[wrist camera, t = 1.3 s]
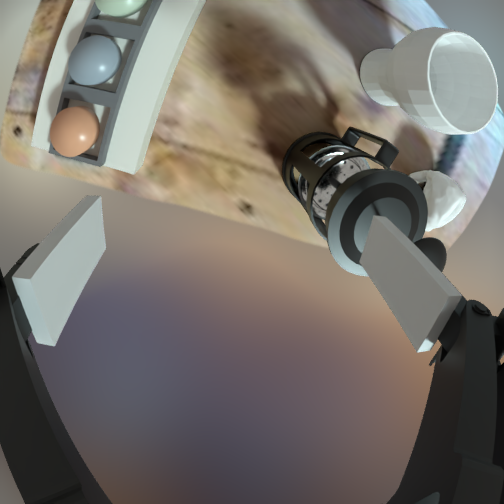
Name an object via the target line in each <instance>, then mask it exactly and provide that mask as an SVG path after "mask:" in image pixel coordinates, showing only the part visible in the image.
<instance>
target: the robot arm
mask: <svg viewBox="0 0 504 504" xmlns="http://www.w3.org/2000/svg"><path fill="white" fill-rule="evenodd" d="M105 249H106V243H105V235H104V226H103V215H102V203H101V196H86V197H85V198H84V199H83V200H82V201H80V202H79V203H78V204H77V205H76V206H75V207H74V208H73V209H72V210H71V211H70V212H69V213H68V214H67V216H65V217H64V219H62V221H61V222H60V223H59V224H58V225H57V226H56V227H55V228H54V229H53V230H52V231H51V232H50V233H49V234H48V235H47V236H46V238H45V239H44V240H43V241H42V242H41V243H38V244H36V245H34V246H32V247H31V248H29V249H28V250H27V251H26V252H25V253H24V255H23V256H22V257H21V258H20V259H19V260H18V261H17V262H16V264H15V265H14V266H13V267H12V268H11V270H10V271H9V272H8V273H7V274H6V276H5V277H4V278H3V276H2V272H1V269H0V444H1V447H2V449H3V452H4V455H5V458H6V461H7V463H8V466H9V468H10V471H11V473H12V475H13V478H14V480H15V482H16V485H17V487H18V489H19V491H20V493H21V495H22V498H23V500H24V502H25V504H112V503H111V501H110V500H109V498H108V497H107V495H106V494H105V493H104V491H103V490H102V488H101V487H100V486H99V484H98V482H97V481H96V479H95V478H94V476H93V475H92V473H91V472H90V470H89V469H88V467H87V466H86V464H85V462H84V460H83V459H82V457H81V455H80V454H79V452H78V450H77V448H76V447H75V445H74V443H73V441H72V440H71V438H70V436H69V434H68V432H67V430H66V428H65V426H64V424H63V422H62V420H61V418H60V416H59V414H58V412H57V410H56V408H55V406H54V403H53V401H52V399H51V397H50V394H49V392H48V390H47V387H46V385H45V383H44V380H43V378H42V375H41V373H40V370H39V367H38V365H37V362H36V359H35V356H34V354H33V351H32V348H31V345H30V343H29V341H28V336H29V335H30V333H31V331H32V332H33V334H34V336H35V339H36V341H37V343H41V344H46V345H51V346H55V345H56V342H57V340H58V338H59V336H60V334H61V331H62V329H63V327H64V325H65V323H66V321H67V319H68V317H69V315H70V313H71V311H72V309H73V307H74V305H75V303H76V301H77V299H78V297H79V296H80V294H81V292H82V290H83V288H84V286H85V284H86V282H87V281H88V279H89V277H90V275H91V273H92V272H93V270H94V268H95V266H96V265H97V263H98V261H99V259H100V258H101V256H102V254H103V253H104V251H105ZM359 262H360V264H361V265H362V267H363V268H364V270H365V271H366V273H367V274H368V276H369V277H370V279H371V280H372V282H373V283H374V285H375V286H376V288H377V289H378V291H379V292H380V294H381V295H382V296H383V298H384V300H385V301H386V303H387V304H388V306H389V308H390V309H391V311H392V312H393V314H394V315H395V317H396V319H397V320H398V322H399V323H400V325H401V327H402V328H403V330H404V332H405V333H406V335H407V337H408V338H409V340H410V341H411V343H412V345H413V346H414V348H415V350H416V352H422V351H429V350H431V349H432V347H433V346H434V344H435V343H436V341H437V339H438V340H439V341H440V343H441V344H442V345H441V347H440V348H439V350H438V351H437V353H436V354H435V356H434V357H433V359H432V360H431V362H430V364H429V365H430V366H431V365H432V363H434V362H435V367H434V373H433V378H432V382H431V387H430V392H429V395H428V400H427V404H426V408H425V411H424V415H423V419H422V422H421V426H420V429H419V433H418V436H417V439H416V442H415V445H414V448H413V451H412V454H411V457H410V460H409V462H408V465H407V468H406V470H405V474H404V476H403V478H402V481H401V483H400V486H399V488H398V490H397V491H396V493H395V494H394V495H393V497H392V498H391V499H390V500H389V501H388V502H387V504H504V363H503V364H502V365H501V363H500V359H501V358H502V356H503V355H504V308H503V309H502V311H501V313H500V314H499V316H498V317H496V316H492V314H491V312H490V310H489V309H488V308H487V307H486V306H485V305H483V304H482V303H480V302H479V301H476V300H469V301H467V300H466V299H465V298H464V297H463V296H462V294H461V293H460V292H459V291H458V290H457V289H456V288H455V287H454V285H453V284H452V283H451V282H450V281H449V280H448V279H447V278H446V276H444V275H443V273H442V272H441V271H440V270H439V269H438V268H437V267H436V266H435V265H434V264H433V263H432V262H431V261H430V260H429V259H428V258H427V257H426V256H425V255H424V254H423V253H422V252H421V250H420V249H419V248H418V247H417V246H416V245H415V244H414V243H413V242H412V241H411V240H410V239H409V238H408V237H406V236H405V235H404V234H403V233H402V232H401V231H400V230H399V229H398V228H397V227H396V226H395V225H394V224H393V223H392V222H391V221H390V220H389V219H388V218H387V217H383V216H375V215H374V216H373V219H372V223H371V226H370V229H369V233H368V236H367V239H366V243H365V246H364V249H363V252H362V255H361V258H360V261H359Z"/></svg>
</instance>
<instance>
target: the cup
mask: <svg viewBox="0 0 504 504" xmlns="http://www.w3.org/2000/svg"><path fill="white" fill-rule="evenodd" d="M360 78H361V83H362V85H363V87H364V90H365V91H366V93H367V94H368V95H369V97H370V98H372V99H373V100H374V101H375V102H377V103H379V104H381V105H386V106H397V105H399V106H400V107H401V108H402V109H403V110H404V111H405V112H406V113H407V114H408V115H410V116H411V117H412V118H413V119H414V120H415V121H417V122H418V123H419V124H421V125H423V126H425V127H427V128H429V129H432V130H435V131H438V132H441V133H446V134H473V133H476V132H478V131H480V130H482V129H484V128H485V126H486V125H487V124H488V123H489V122H490V121H491V119H492V117H493V115H494V113H495V109H496V105H497V99H498V85H497V77H496V74H495V70H494V67H493V65H492V62H491V60H490V58H489V56H488V54H487V53H486V52H485V50H484V49H483V48H482V46H481V45H480V44H479V43H478V42H477V41H475V40H474V39H473V38H472V37H470V36H468V35H466V34H464V33H462V32H459V31H455V30H450V29H446V28H438V27H431V28H425V29H420V30H417V31H413V32H411V33H410V34H408V35H407V36H406V37H404V38H403V39H402V40H401V41H400V42H398V43H397V44H396V45H395V47H394V48H393V49H376V50H373V51H371V52H370V53H368V54H367V55H366V56H365V58H364V59H363V61H362V64H361V67H360Z"/></svg>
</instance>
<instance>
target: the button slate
mask: <svg viewBox="0 0 504 504" xmlns="http://www.w3.org/2000/svg"><path fill="white" fill-rule="evenodd" d="M121 61H122V53H121V49H120V47H119V45H118V44H117V43H116V42H115V41H113V40H111V39H109V38H106V37H104V36H99V35H95V36H90V37H87V38H85V39H83V40H82V41H80V42H79V43H78V44H77V45H76V46H75V47H74V49H73V50H72V52H71V54H70V57H69V61H68V70H69V73H70V76H71V77H72V79H73V80H74V81H75V82H77V83H79V84H82V85H99V84H103V83H105V82H107V81H108V80H110V79H111V78H112V77H113V76H114V75H115V74H116V73H117V71H118V69H119V67H120V65H121Z"/></svg>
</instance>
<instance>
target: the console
mask: <svg viewBox="0 0 504 504" xmlns="http://www.w3.org/2000/svg"><path fill="white" fill-rule="evenodd" d="M205 2H206V0H148V1H147V3H146V4H145V6H144V7H143V8H142V9H141V10H140V11H138V12H137V13H135V14H133V15H131V16H129V17H125V18H114V17H111V16H109V15H107V14H105V13H104V12H102V11H101V10H99V9H98V7H97V6H96V3H95V0H74V2H73V4H72V6H71V9H70V11H69V13H68V16H67V18H66V20H65V23H64V25H63V28H62V31H61V33H60V36H59V39H58V41H57V44H56V47H55V50H54V53H53V56H52V59H51V62H50V65H49V69H48V72H47V76H46V79H45V83H44V87H43V90H42V94H41V99H40V103H39V107H38V112H37V116H36V121H35V127H34V132H33V138H32V144H31V146H32V147H36V148H40V149H44V150H48V151H49V153H52V154H55V155H59V156H63V155H61V154H60V153H58V152H57V151H56V150H55V148H54V147H53V145H52V143H51V139H50V128H51V124H52V121H53V120H54V118H55V116H56V115H57V114H58V113H59V112H60V111H62V110H64V109H66V108H70V107H75V106H86V107H88V108H90V109H92V110H93V111H94V112H95V113H96V115H97V117H98V119H99V123H100V133H99V136H98V139H97V141H96V143H95V144H94V145H93V146H92V147H91V148H90V149H89V150H87V151H85V152H83V153H81V154H80V155H77V156H74V157H67V158H70V159H74V160H78V161H81V162H85V163H88V164H92V165H96V166H99V167H101V166H102V165H103V166H107V167H110V168H114V169H117V170H120V171H124V172H127V173H131V174H135V173H136V172H137V171H138V170H139V169H140V168H141V167H142V165H143V162H144V159H145V155H146V152H147V148H148V145H149V142H150V139H151V135H152V132H153V129H154V126H155V123H156V120H157V117H158V114H159V111H160V108H161V106H162V103H163V100H164V97H165V94H166V92H167V89H168V86H169V84H170V81H171V79H172V76H173V73H174V71H175V68H176V66H177V63H178V61H179V59H180V56H181V54H182V51H183V49H184V47H185V45H186V42H187V40H188V38H189V36H190V33H191V31H192V29H193V27H194V25H195V23H196V20H197V18H198V16H199V14H200V12H201V10H202V8H203V6H204V4H205ZM95 35H99V36H104V37H106V38H109V39H111V40H113V41H115V42H116V43H117V44H118V45H119V47H120V49H121V53H122V61H121V65H120V67H119V69H118V71H117V73H116V74H115V75H114V76H113V77H112V78H111V79H110V80H108V81H107V82H105V83H103V84H99V85H82V84H79V83H77V82H75V81H74V80H73V79H72V77H71V76H70V73H69V70H68V61H69V57H70V54H71V52H72V50H73V49H74V47H75V46H76V45H77V44H78V43H79V42H80V41H82V40H83V39H85V38H87V37H90V36H95ZM63 157H66V156H63Z"/></svg>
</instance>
